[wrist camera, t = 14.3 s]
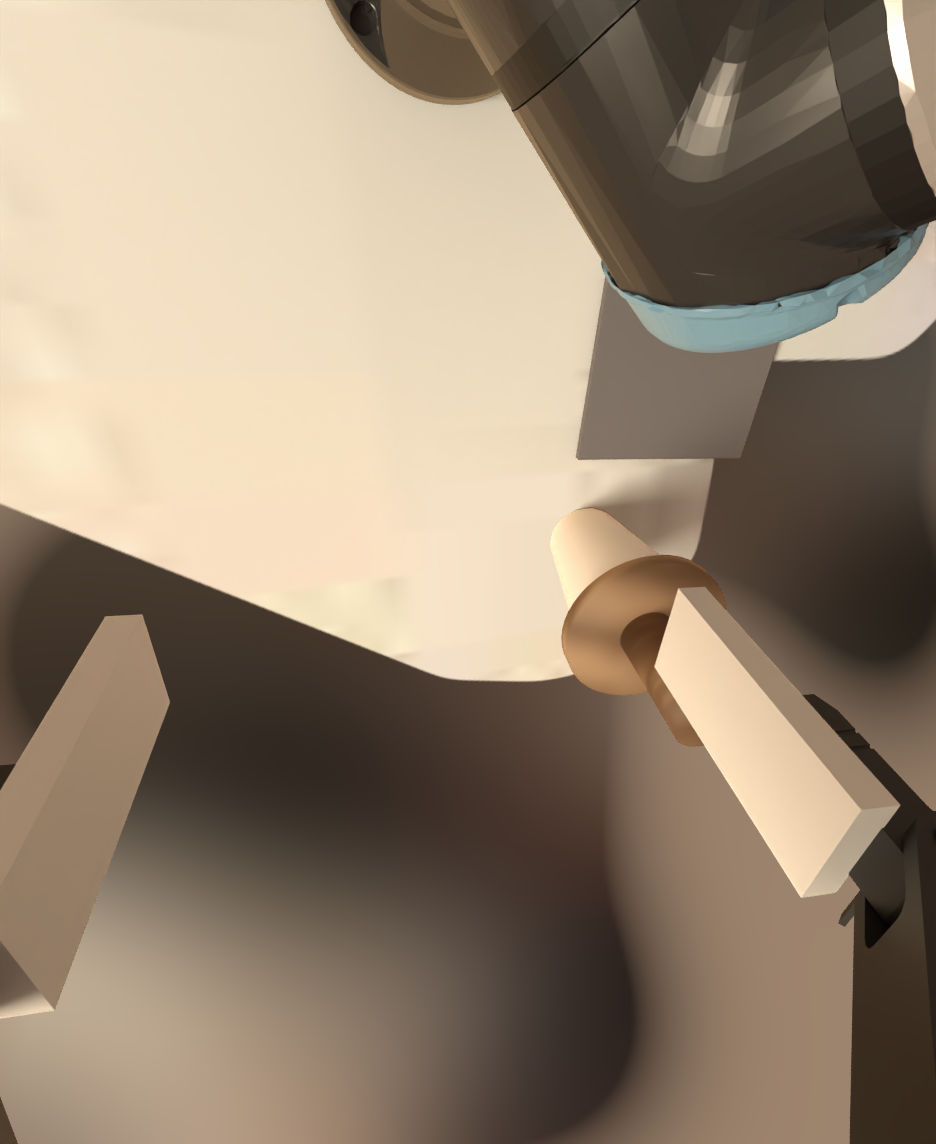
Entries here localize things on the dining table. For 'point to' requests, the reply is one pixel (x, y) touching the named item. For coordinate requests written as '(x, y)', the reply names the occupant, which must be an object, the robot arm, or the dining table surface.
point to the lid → (632, 631)
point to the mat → (665, 393)
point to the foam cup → (591, 549)
